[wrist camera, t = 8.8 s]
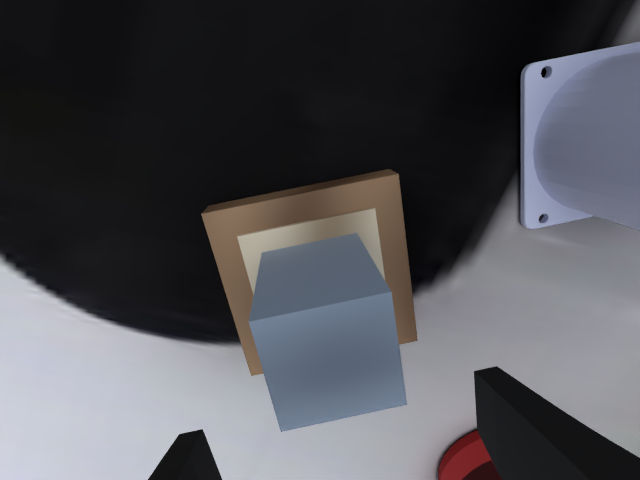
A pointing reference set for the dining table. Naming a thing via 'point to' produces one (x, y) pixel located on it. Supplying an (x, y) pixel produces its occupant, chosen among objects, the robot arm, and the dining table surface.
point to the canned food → (468, 461)
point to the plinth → (311, 239)
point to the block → (326, 332)
